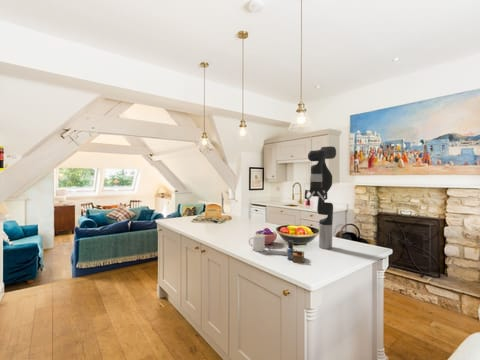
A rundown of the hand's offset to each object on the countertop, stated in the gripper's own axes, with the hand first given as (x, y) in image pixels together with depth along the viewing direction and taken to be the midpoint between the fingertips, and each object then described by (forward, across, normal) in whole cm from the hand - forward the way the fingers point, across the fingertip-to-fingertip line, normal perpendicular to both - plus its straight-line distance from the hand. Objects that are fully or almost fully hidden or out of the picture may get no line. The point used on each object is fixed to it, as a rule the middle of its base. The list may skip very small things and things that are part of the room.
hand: (315, 205), depth 167 cm
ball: (+31, +12, +10) cm, 35 cm away
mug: (+33, +40, -4) cm, 52 cm away
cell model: (+33, +36, -23) cm, 54 cm away
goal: (+33, +10, +10) cm, 36 cm away
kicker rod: (+33, +16, +6) cm, 37 cm away
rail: (+33, +21, +2) cm, 39 cm away
